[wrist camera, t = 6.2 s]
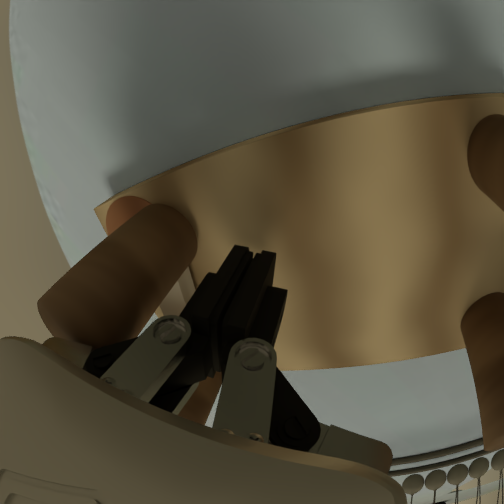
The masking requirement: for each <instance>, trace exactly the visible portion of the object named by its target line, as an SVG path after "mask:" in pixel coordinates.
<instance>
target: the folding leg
mask: <svg viewBox="0 0 504 504" xmlns="http://www.w3.org/2000/svg"><path fill="white" fill-rule="evenodd" d="M197 247H198V244H197V237H196V234H195V231H194V229H193V227H192V226H191V224H190V223H189V221H188V220H187V219H186V218H185V216H183V215H182V214H181V213H180V212H179V211H177V210H176V209H174V208H172V207H170V206H168V205H164V204H150V205H148V206H146V207H144V208H143V209H141V210H140V211H139V212H138V213H136V214H135V215H134V216H132V217H131V218H130V219H129V220H127V221H126V222H125V223H124V224H122V225H121V226H120V227H119V228H117V229H116V230H115V231H114V232H113V233H111V234H110V235H109V236H108V237H107V238H105V239H104V240H103V241H102V242H101V243H99V244H98V245H97V246H96V247H95V248H94V249H92V250H91V251H90V252H89V253H88V254H87V255H86V256H84V257H83V258H82V259H81V260H80V261H79V262H78V263H77V264H76V265H74V266H73V267H72V268H71V269H70V270H69V271H68V272H67V273H66V274H65V275H64V276H63V277H62V278H60V279H59V280H58V281H57V282H56V283H55V284H54V285H53V286H52V287H51V288H50V289H49V290H48V291H47V292H46V293H45V294H44V295H43V296H42V297H41V298H40V299H39V300H38V303H37V305H38V311H39V314H40V316H41V318H42V320H43V322H44V324H45V325H46V327H47V328H48V330H49V331H50V332H51V334H52V335H53V336H54V337H59V338H62V339H66V340H70V341H73V342H77V343H81V344H85V345H89V346H93V348H94V349H97V348H100V347H103V346H107V345H110V344H114V343H118V342H121V341H125V340H129V339H132V338H136V337H137V336H138V335H139V333H140V332H141V331H142V329H143V328H144V326H145V325H146V323H147V322H148V321H149V319H150V318H151V316H152V315H153V314H154V312H155V311H156V309H157V308H158V307H159V306H160V308H161V310H162V313H163V315H164V316H167V315H176V316H179V315H180V313H181V312H182V310H183V309H184V307H185V306H186V304H187V303H188V301H189V300H190V298H191V297H192V295H193V294H194V292H195V291H196V290H195V287H194V284H193V280H192V277H191V274H190V270H189V267H188V266H189V265H190V263H191V262H192V261H193V259H194V258H195V256H196V253H197ZM221 385H222V373H221V372H217V371H216V373H215V376H214V378H211V377H208V376H207V378H206V380H203V381H200V382H199V385H198V387H197V389H196V390H195V391H194V393H193V394H192V396H191V397H190V398H189V400H188V401H187V403H186V404H185V405H184V407H183V408H182V410H181V411H180V412H179V414H178V416H180V417H183V418H185V419H188V420H191V421H193V422H196V423H199V424H202V425H205V423H206V421H207V418H208V416H209V414H210V411H211V409H212V406H213V404H214V402H215V399H216V397H217V394H218V392H219V389H220V387H221Z"/></svg>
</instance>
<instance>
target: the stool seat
mask: <svg viewBox="0 0 504 504" xmlns="http://www.w3.org/2000/svg"><path fill="white" fill-rule="evenodd" d="M150 204H164V205H168V206H170V207H172V208H174V209H176V210H177V211H179V212H180V213H181V214H182V215H183V216H185V218H186V219H187V220H188V221H189V223H190V224H191V226H192V227H193V229H194V231H195V234H196V237H197V244H198V247H197V253H196V256H195V258H194V259H193V261H192V262H191V263H190V265H189V266H188V267H189V270H190V274H191V277H192V280H193V284H194V287H195V290H196V289H197V288H198V286H199V285H200V283H201V282H202V280H203V279H204V277H205V276H206V274H207V273H209V272H212V273H217V271H218V270H219V268H220V267H221V265H222V263H223V262H224V260H225V259H226V257H227V256H228V254H229V252H230V251H231V249H232V248H233V246H234V245H240V246H245V247H249V251H251V252H253V258H254V256H255V254H256V253H261V252H262V250H265V251H270V252H275V253H276V263H275V271H274V278H273V287H278V288H282V289H287V290H288V293H287V299H286V304H285V309H284V313H283V317H282V321H281V325H280V328H279V332H278V335H277V339H276V342H275V345H274V349H275V351H276V354H277V364H276V366H277V367H278V369H279V370H280V371H286V370H313V369H329V368H342V367H353V366H363V365H372V364H380V363H387V362H394V361H401V360H407V359H413V358H419V357H424V356H430V355H435V354H440V353H445V352H449V351H454V350H458V349H462V348H466V349H467V353H468V357H469V361H470V365H471V369H472V373H473V378H474V383H475V387H476V393H477V398H478V404H479V410H480V417H481V424H482V433H483V443H484V450H485V451H494V450H498V449H501V448H504V93H484V94H465V95H452V96H442V97H433V98H424V99H417V100H410V101H403V102H397V103H391V104H385V105H379V106H374V107H369V108H364V109H359V110H354V111H350V112H345V113H341V114H336V115H332V116H328V117H324V118H320V119H316V120H312V121H309V122H305V123H301V124H298V125H294V126H291V127H287V128H284V129H280V130H277V131H274V132H270V133H267V134H264V135H261V136H258V137H255V138H252V139H249V140H246V141H243V142H240V143H237V144H234V145H231V146H228V147H226V148H223V149H220V150H217V151H215V152H212V153H209V154H207V155H204V156H202V157H199V158H197V159H194V160H192V161H189V162H187V163H184V164H182V165H179V166H177V167H175V168H172V169H170V170H168V171H165V172H163V173H161V174H158V175H156V176H154V177H152V178H149V179H147V180H145V181H143V182H141V183H139V184H136V185H134V186H132V187H130V188H128V189H126V190H124V191H122V192H120V193H118V194H116V195H114V196H112V197H111V198H109V199H108V200H106V201H105V202H103V203H102V204H100V205H99V206H97V207H96V208H94V211H95V213H96V215H97V217H98V219H99V221H100V222H101V224H102V226H103V228H104V230H105V232H106V234H107V235H108V236H109V235H110V234H111V233H113V232H114V231H115V230H116V229H117V228H119V227H120V226H121V225H122V224H124V223H125V222H126V221H127V220H129V219H130V218H131V217H132V216H134V215H135V214H136V213H138V212H139V211H140V210H141V209H143V208H144V207H146V206H148V205H150ZM155 313H156V315H157V316H158V318H160V317H162V316H164V315H163V313H162V310H161V308H160V306H159V307H158V308H157V309H156V311H155Z"/></svg>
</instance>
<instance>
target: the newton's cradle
mask: <svg viewBox="0 0 504 504" xmlns="http://www.w3.org/2000/svg"><path fill="white" fill-rule="evenodd" d="M482 444H484V443H483V438H481V439H478V440H475V441H472V442H468V443H465V444H462V445H458V446H455V447H451V448H447V449H443V450H439V451H435V452H430V453H426V454H421V455H416V456H410V457H404V458H398V459H392V464H391V466H393V465H400V464H406V463H412V462H418V461H423V460H428V459H432V458H437V457H441V456H445V455H449V454H453V453H456V452H460V451H463V450H467V449H470V448H473V447H476V446H479V445H482ZM501 449H502V448H501ZM498 450H499V449H498ZM494 451H497V450H494ZM494 451H485V450H482V451H479V452H476V453H473V454H470V455H466V456H463V457H459V458H456V459H452V460H448V461H444V462H440V463H436V464H431V465H427V466H422V467H416V468H411V469H405V470H398V471H391V472H388V476H390V477H392V476H400V475H406V474H412V473H418V472H423V471H428V470H433V469H437V468H442V467H446V466H450V465H453V464H457V463H461V462H464V461H467V460H471V459H474V458H477V457H480V456H483V455H486V454H488V453H491V452H494ZM491 466H492V468H493V469H494V470H500V475H501V473H502V470H503V468H504V449H502V450H499V451H498V452H497V453H496V454H495V455H494V456H493V458H492V460H491ZM488 468H489V461H488V459H486V458H484V457H480V458H477V459H476V460H474V461H473V462H472V463H471V465H470V467H469V470H468V467H467V466H466V465H464V464H457V465H455V466H453V467H452V468H451V469H450V470H449V472H448V474H447V476H446V473H445V472H444V471H443V470H440V469H438V470H434V471H432V472H430V473H429V474H428V475H427V477H426V479H425V486H426V487H427V488H428V489H430V490H434V501H433V504H435V496H436V490H437V489H438V488H440V487H441V486H442V485H443V484H444V483H445V481H446V477H447V480H448V482H449V483H450V484H453V485H457V487H456V498H457V504H458V485H459V483H461V482H462V481H464V480H465V478H466V477H467V475H468V472H469V475H470V477H472V478H477V479H478V486H479V492H480V477H481V476H482V475H484V474H485V473H486V472H487V470H488ZM502 477H503V476H502ZM500 478H501V476H500ZM423 485H424V478H423V477H422V476H421V475H419V474H413V475H410V476H408V477H407V478H406V479H405V480H404V482H403V484H402V488H403V489H404V492H405V493H407V494H410V495H412V497H413V495H414V493H417V492H418V491H420V490H421V489H422V487H423ZM499 490H500V480H499ZM412 497H411V504H412ZM498 498H499V492H498ZM477 499H478V488H477ZM480 502H481V501H480ZM455 504H456V499H455ZM476 504H477V501H476ZM497 504H498V500H497ZM502 504H503V478H502Z"/></svg>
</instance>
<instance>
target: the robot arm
mask: <svg viewBox="0 0 504 504" xmlns="http://www.w3.org/2000/svg"><path fill="white" fill-rule="evenodd" d="M275 263H276V253H275V252H270V251H265V250H262V252H261V253H256V254H255V256H254V258H253V252H251V251H249V247H245V246H240V245H234V246H233V248H232V249H231V251H230V252H229V254H228V256H227V257H226V259H225V260H224V262H223V263H222V265H221V267H220V268H219V270H218V271H217V273H212V272H209V273H207V274H206V276H205V277H204V279H203V280H202V282H201V283H200V285H199V286H198V288H197V289H196V291H195V292H194V294H193V295H192V297H191V298H190V300H189V301H188V303H187V304H186V306H185V307H184V309H183V310H182V312H181V313H180V315H179V316H176V315H167V316H162V317H160V318H158V319H156V320H155V321H154V322H152V324H151V325H150V326H149V327H148V328H147V329H146V330H145V331H144V332H143V333H142V334H141V335H140V336H139V337H136V338H132V339H129V340H125V341H121V342H118V343H114V344H110V345H107V346H103V347H100V348H97V349H94V348H93V346H89V345H85V344H81V343H77V342H73V341H70V340H66V339H62V338H59V337H52V338H49V339H47V340H46V341H45V342H44V343H43V344H40V343H38V342H36V341H34V340H31V339H27V338H23V337H16V336H13V337H12V336H9V337H4V338H1V339H0V504H407V498H406V494H405V492H404V489H403V488H402V486H401V485H400V484H399V483H398V482H397V481H396V480H394V479H393V478H391V477H390V476H388V472H389V470H390V467H391V464H392V458H393V455H392V451H391V449H390V448H389V446H388V445H387V444H385V443H383V442H381V441H378V440H375V439H372V438H368V437H365V436H362V435H359V434H356V433H354V432H351V431H348V430H345V429H342V428H340V427H337V426H334V425H332V424H331V425H330V426H328V425H325V424H323V423H320V422H318V420H317V418H316V417H315V415H314V414H313V413H312V412H311V410H310V409H309V408H308V407H307V405H306V404H305V403H304V401H303V400H302V399H301V398H300V396H299V395H298V394H297V392H296V391H295V390H294V389H293V387H292V386H291V385H290V383H289V382H288V381H287V379H286V378H285V377H284V375H283V374H282V373H281V371H280V370H279V369H278V367H277V366H276V364H277V354H276V351H275V349H274V345H275V342H276V339H277V335H278V332H279V328H280V325H281V321H282V317H283V313H284V309H285V304H286V299H287V293H288V290H287V289H282V288H278V287H273V278H274V271H275ZM216 371H217V372H221V373H222V387H221V392H220V396H219V400H218V405H217V409H216V413H215V418H214V422H213V427H212V428H211V427H208V426H205V425H202V424H199V423H196V422H193V421H191V420H188V419H185V418H183V417H180V416H178V414H179V412H180V411H181V410H182V408H183V407H184V405H185V404H186V403H187V401H188V400H189V398H190V397H191V396H192V394H193V393H194V391H195V390H196V389H197V387H198V385H199V382H200V381H203V380H206V378H207V376H208V377H211V378H214V376H215V373H216Z"/></svg>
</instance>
